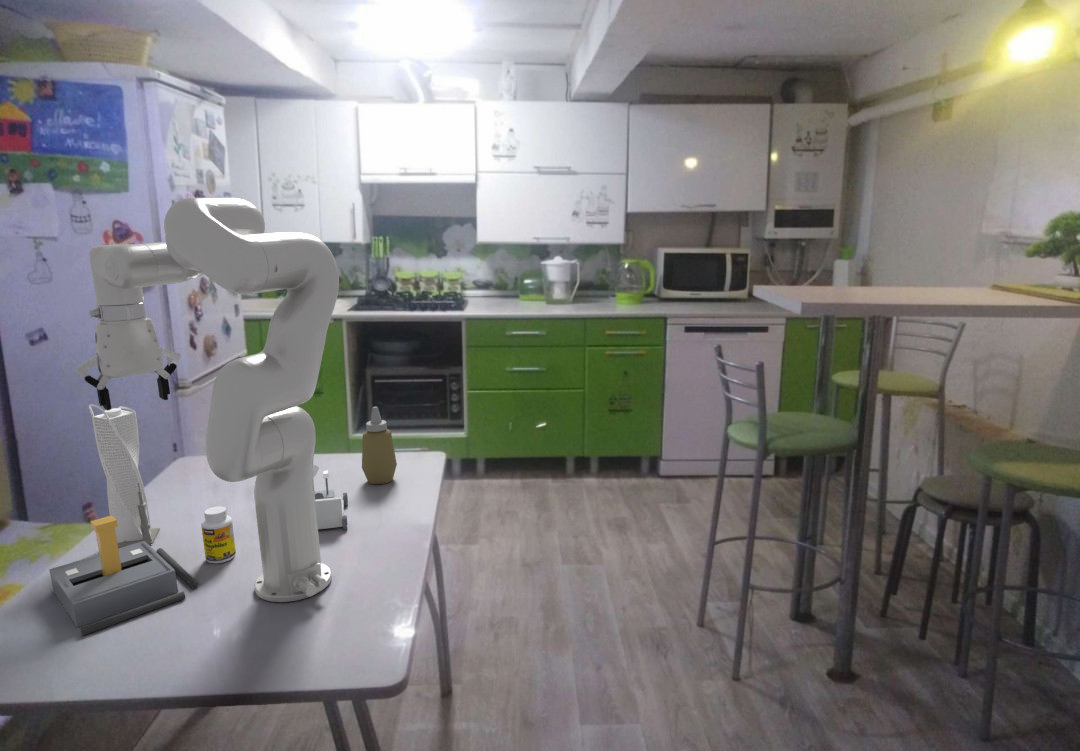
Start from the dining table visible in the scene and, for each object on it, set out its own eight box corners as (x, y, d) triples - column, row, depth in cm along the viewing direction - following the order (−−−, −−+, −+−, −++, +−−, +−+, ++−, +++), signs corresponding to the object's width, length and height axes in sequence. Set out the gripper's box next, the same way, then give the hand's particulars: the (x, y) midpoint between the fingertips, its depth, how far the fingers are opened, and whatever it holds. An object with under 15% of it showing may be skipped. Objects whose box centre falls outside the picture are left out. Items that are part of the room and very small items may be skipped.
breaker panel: (178, 591, 124) (174, 569, 123) (77, 627, 114) (72, 603, 113) (147, 560, 135) (144, 540, 134) (53, 590, 125) (49, 568, 124)
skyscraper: (103, 550, 139) (80, 410, 133) (114, 533, 147) (93, 399, 140) (152, 544, 142) (131, 405, 135) (160, 527, 149) (141, 395, 143)
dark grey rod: (199, 586, 125) (198, 580, 125) (191, 589, 125) (191, 583, 124) (163, 553, 138) (162, 547, 138) (156, 555, 137) (155, 549, 137)
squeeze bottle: (404, 478, 174) (400, 405, 170) (380, 489, 167) (375, 414, 163) (380, 472, 178) (374, 401, 174) (355, 482, 171) (349, 409, 167)
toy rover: (289, 462, 158) (344, 457, 161) (293, 504, 161) (348, 498, 163) (282, 493, 141) (344, 486, 144) (287, 539, 144) (347, 532, 146)
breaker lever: (125, 574, 124) (116, 520, 122) (104, 581, 122) (95, 526, 119) (120, 569, 126) (111, 515, 124) (99, 575, 124) (90, 521, 121)
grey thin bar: (185, 599, 122) (184, 592, 121) (83, 636, 111) (82, 629, 111) (183, 596, 122) (182, 590, 122) (81, 633, 112) (80, 626, 112)
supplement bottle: (202, 565, 133) (195, 517, 131) (210, 552, 138) (204, 505, 136) (232, 563, 134) (226, 514, 131) (239, 550, 139) (233, 503, 136)
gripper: (71, 321, 125) (88, 417, 129) (179, 309, 136) (191, 398, 140) (63, 316, 130) (79, 409, 134) (167, 306, 141) (179, 392, 145)
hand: (136, 403), depth 137 cm, fingers open, 9 cm apart
